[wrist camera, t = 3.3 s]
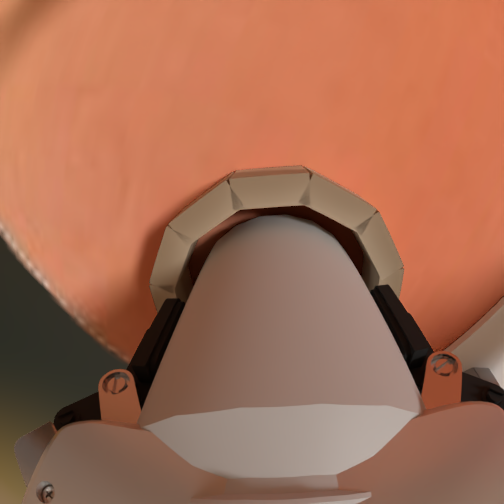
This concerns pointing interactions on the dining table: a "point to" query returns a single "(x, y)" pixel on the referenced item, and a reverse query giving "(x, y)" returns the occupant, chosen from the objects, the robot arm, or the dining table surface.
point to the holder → (483, 347)
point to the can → (280, 369)
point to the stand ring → (264, 196)
